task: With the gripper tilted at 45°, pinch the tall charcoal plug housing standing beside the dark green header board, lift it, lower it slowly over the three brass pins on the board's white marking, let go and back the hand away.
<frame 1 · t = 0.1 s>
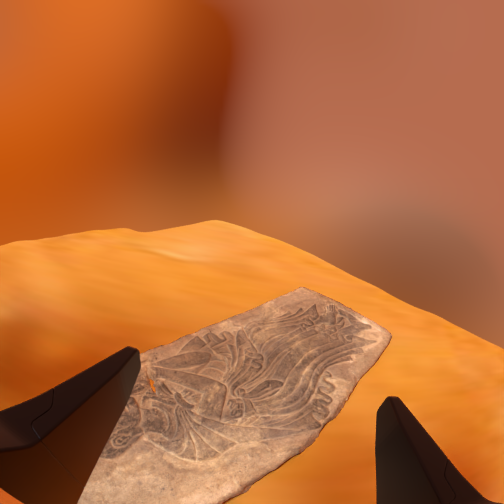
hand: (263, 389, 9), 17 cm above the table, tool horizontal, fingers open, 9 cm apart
relief sculpture: (249, 381, 29), on the table
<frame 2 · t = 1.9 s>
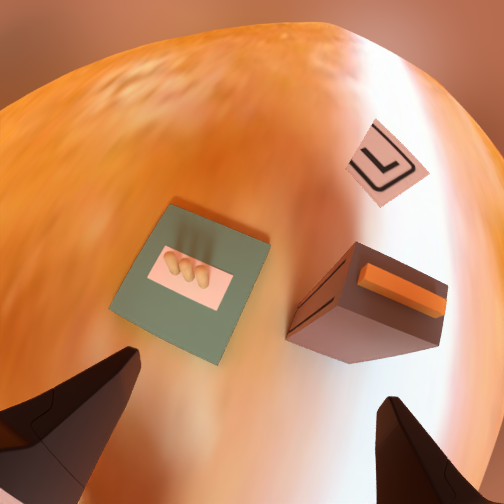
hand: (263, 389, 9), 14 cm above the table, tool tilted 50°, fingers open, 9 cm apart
plug housing: (324, 334, 24), on the table
sign: (328, 111, 36), on the table
header board: (190, 280, 25), on the table
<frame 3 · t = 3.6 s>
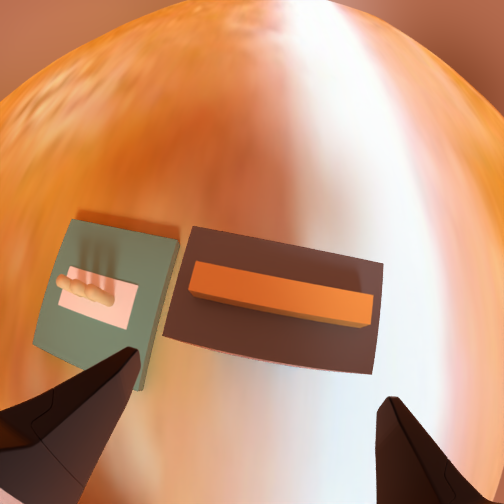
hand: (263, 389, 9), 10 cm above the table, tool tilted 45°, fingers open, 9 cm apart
plug housing: (261, 335, 19), on the table
header board: (101, 299, 20), on the table
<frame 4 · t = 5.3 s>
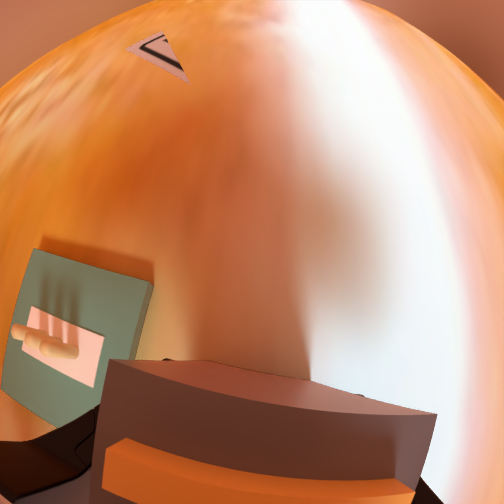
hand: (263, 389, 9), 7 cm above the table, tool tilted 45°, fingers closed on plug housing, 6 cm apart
plug housing: (252, 400, 15), on the table, touching gripper
sign: (241, 65, 25), on the table
header board: (67, 346, 15), on the table
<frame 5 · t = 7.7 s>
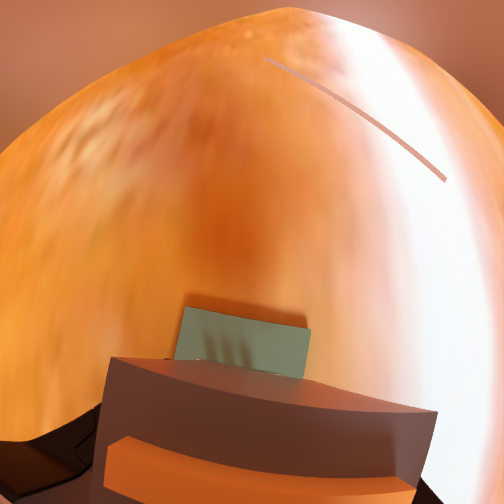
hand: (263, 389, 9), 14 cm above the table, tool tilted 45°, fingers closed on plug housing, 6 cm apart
plug housing: (253, 400, 15), point 7 cm above the table, touching gripper
sign: (327, 126, 32), on the table
header board: (234, 386, 21), on the table
when the fingers open (9 cm above the table, at t = 10.6 s): plug housing stays where it is, resting on header board.
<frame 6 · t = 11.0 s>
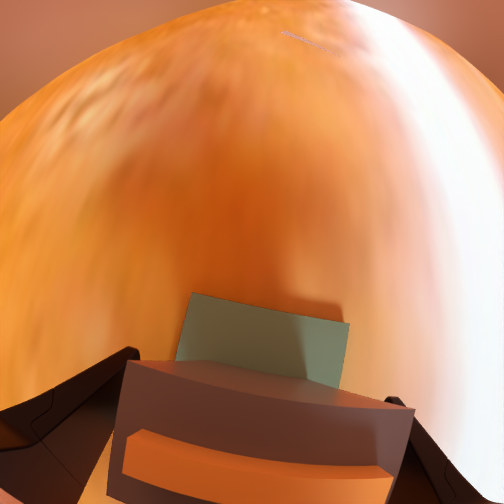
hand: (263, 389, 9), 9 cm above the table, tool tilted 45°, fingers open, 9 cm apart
plug housing: (252, 398, 16), point 1 cm above the table, touching header board
header board: (252, 395, 17), on the table
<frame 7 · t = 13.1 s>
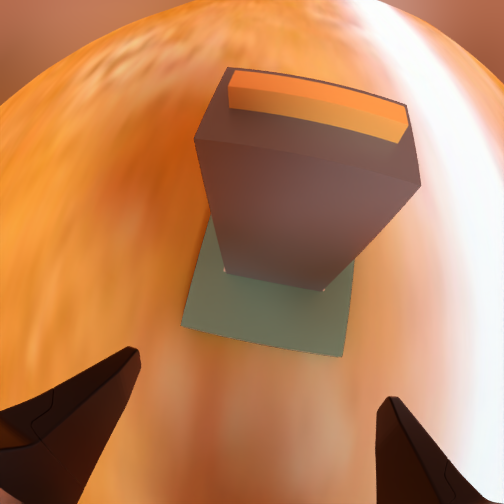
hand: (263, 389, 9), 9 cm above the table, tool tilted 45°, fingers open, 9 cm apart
plug housing: (278, 257, 19), point 1 cm above the table, touching header board
header board: (277, 262, 20), on the table
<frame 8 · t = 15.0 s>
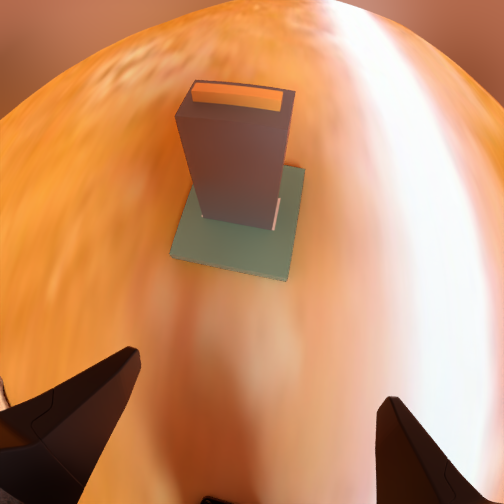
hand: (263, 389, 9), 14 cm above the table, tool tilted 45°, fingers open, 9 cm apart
plug housing: (241, 206, 26), point 1 cm above the table, touching header board
header board: (241, 212, 27), on the table
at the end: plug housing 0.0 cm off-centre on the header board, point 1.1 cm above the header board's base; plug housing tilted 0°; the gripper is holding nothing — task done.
